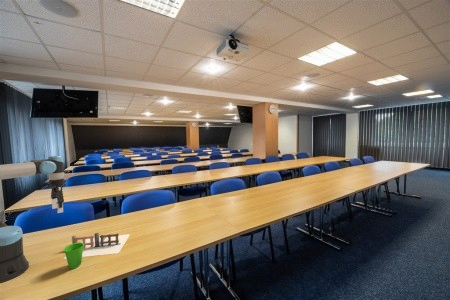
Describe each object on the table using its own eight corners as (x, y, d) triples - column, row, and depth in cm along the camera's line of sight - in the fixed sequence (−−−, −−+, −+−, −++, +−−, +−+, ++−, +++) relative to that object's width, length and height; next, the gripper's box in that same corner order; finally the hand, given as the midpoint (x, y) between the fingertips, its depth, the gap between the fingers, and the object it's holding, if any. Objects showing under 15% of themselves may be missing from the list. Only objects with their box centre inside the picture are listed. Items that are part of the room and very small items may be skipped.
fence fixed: (118, 245, 127) (117, 232, 126) (94, 247, 124) (93, 234, 124) (119, 243, 129) (119, 230, 129) (96, 245, 127) (95, 232, 126)
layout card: (118, 253, 118) (118, 252, 118) (62, 259, 112) (62, 258, 112) (130, 233, 142) (130, 233, 142) (85, 238, 137) (85, 237, 137)
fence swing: (93, 247, 124) (92, 235, 124) (72, 249, 122) (71, 237, 122) (94, 245, 126) (93, 233, 126) (73, 247, 124) (73, 235, 124)
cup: (89, 260, 111) (88, 242, 111) (77, 271, 102) (76, 251, 102) (72, 261, 111) (71, 242, 110) (60, 271, 102) (58, 251, 101)
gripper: (69, 180, 124) (70, 212, 125) (58, 176, 139) (59, 205, 140) (54, 182, 118) (55, 216, 119) (44, 177, 133) (45, 208, 134)
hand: (57, 210), depth 130 cm, fingers open, 13 cm apart
